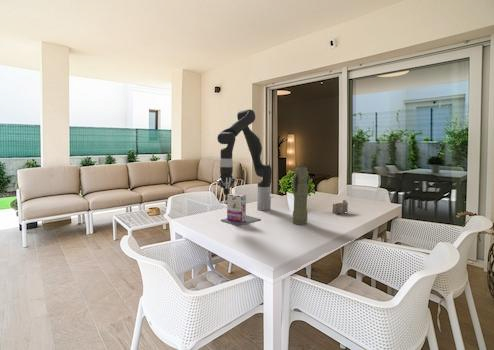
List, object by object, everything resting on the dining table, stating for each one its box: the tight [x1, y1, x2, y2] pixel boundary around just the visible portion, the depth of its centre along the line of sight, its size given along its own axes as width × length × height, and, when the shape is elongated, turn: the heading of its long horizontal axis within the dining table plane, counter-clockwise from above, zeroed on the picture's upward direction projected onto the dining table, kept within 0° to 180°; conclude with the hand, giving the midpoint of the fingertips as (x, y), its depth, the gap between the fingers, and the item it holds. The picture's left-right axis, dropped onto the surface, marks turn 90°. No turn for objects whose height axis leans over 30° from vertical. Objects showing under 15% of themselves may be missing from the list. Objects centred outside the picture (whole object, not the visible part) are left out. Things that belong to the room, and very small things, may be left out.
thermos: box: [292, 166, 310, 226], centre depth 178 cm, size 9×12×35 cm
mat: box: [220, 215, 262, 227], centre depth 185 cm, size 20×16×1 cm
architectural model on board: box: [332, 199, 349, 215], centre depth 205 cm, size 11×3×10 cm, turn 116°
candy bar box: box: [226, 193, 247, 222], centre depth 182 cm, size 11×5×16 cm, turn 60°
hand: (226, 194), depth 175 cm, fingers closed
